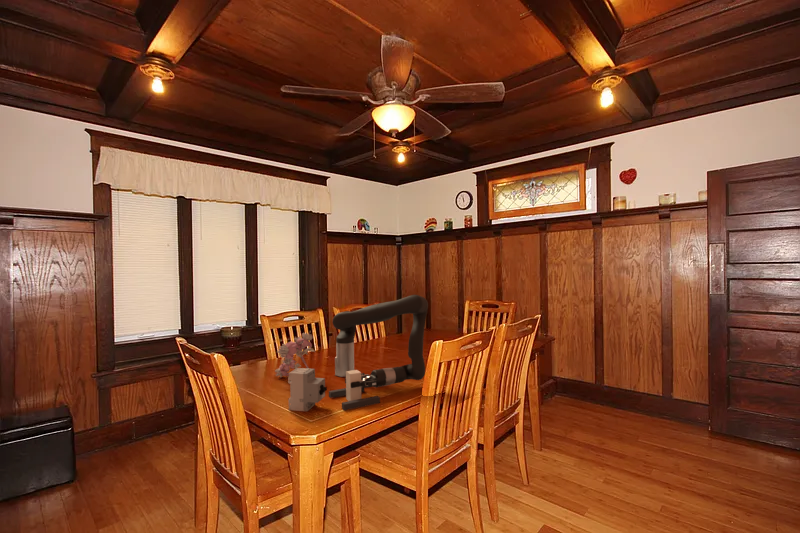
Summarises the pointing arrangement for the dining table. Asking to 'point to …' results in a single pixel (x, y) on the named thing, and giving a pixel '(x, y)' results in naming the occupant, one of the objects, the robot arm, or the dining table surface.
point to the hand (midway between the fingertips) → (348, 383)
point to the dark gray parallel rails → (354, 403)
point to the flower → (290, 350)
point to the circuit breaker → (305, 389)
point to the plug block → (350, 392)
